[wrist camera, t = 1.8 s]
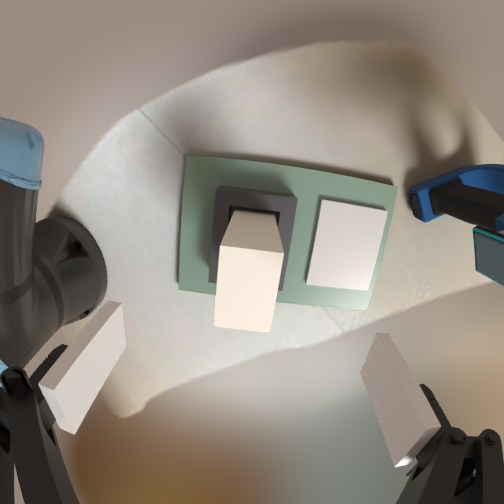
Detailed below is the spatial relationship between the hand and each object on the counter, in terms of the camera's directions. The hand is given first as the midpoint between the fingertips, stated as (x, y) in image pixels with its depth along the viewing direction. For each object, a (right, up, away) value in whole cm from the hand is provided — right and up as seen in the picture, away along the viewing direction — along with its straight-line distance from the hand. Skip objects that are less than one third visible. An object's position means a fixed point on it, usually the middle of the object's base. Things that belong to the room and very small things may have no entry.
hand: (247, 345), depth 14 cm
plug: (0, +7, +18) cm, 20 cm away
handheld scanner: (+25, +12, +17) cm, 33 cm away
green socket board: (+4, +6, +20) cm, 21 cm away
